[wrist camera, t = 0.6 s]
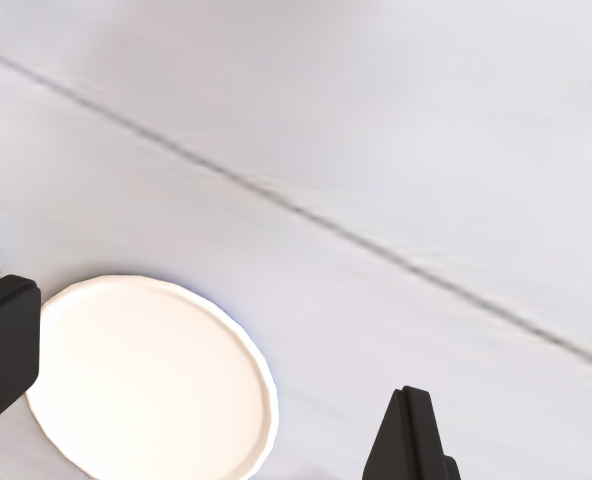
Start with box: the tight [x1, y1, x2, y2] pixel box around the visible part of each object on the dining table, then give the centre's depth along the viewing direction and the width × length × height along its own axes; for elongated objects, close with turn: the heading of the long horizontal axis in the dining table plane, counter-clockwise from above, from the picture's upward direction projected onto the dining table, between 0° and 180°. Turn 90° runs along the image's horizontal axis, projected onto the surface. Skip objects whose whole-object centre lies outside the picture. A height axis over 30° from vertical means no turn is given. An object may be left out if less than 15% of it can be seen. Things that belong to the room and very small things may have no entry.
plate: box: [25, 275, 279, 480], centre depth 46 cm, size 29×29×1 cm
